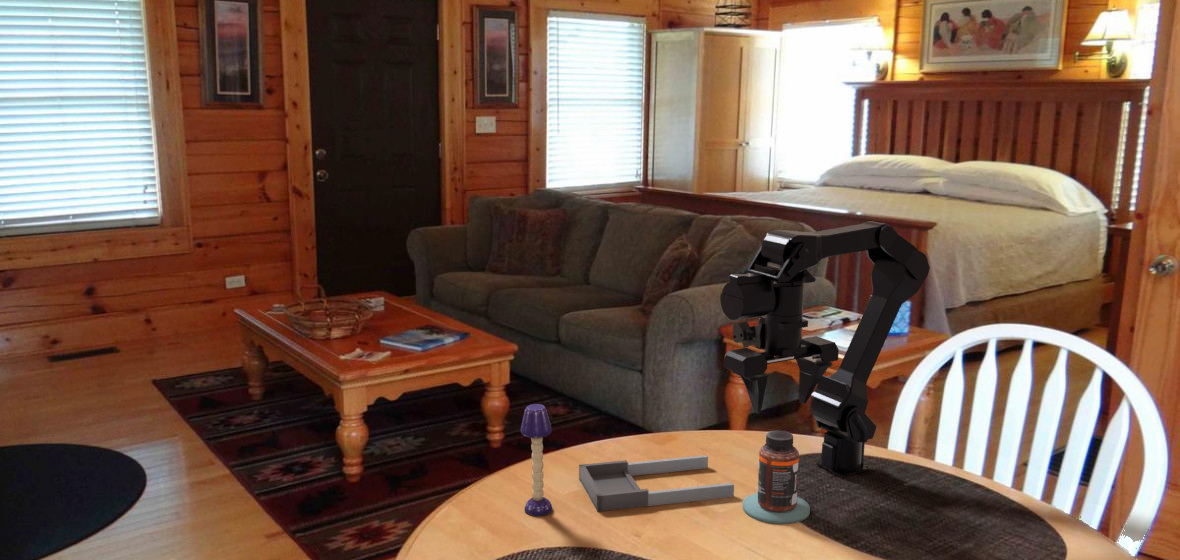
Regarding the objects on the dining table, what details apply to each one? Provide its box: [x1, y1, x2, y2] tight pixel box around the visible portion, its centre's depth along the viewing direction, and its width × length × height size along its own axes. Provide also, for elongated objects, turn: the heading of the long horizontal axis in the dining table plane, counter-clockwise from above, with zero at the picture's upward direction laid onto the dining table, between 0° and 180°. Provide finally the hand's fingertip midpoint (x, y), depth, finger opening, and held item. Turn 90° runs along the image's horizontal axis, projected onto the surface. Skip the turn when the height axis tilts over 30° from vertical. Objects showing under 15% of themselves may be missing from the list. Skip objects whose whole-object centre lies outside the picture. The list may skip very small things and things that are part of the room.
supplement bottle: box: [757, 430, 800, 512], centre depth 143 cm, size 6×6×11 cm
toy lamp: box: [520, 403, 553, 517], centre depth 143 cm, size 5×5×17 cm
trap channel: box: [578, 454, 735, 513], centre depth 152 cm, size 22×12×2 cm, turn 103°
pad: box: [742, 492, 811, 525], centre depth 145 cm, size 10×10×1 cm
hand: (780, 407), depth 151 cm, fingers open, 9 cm apart
